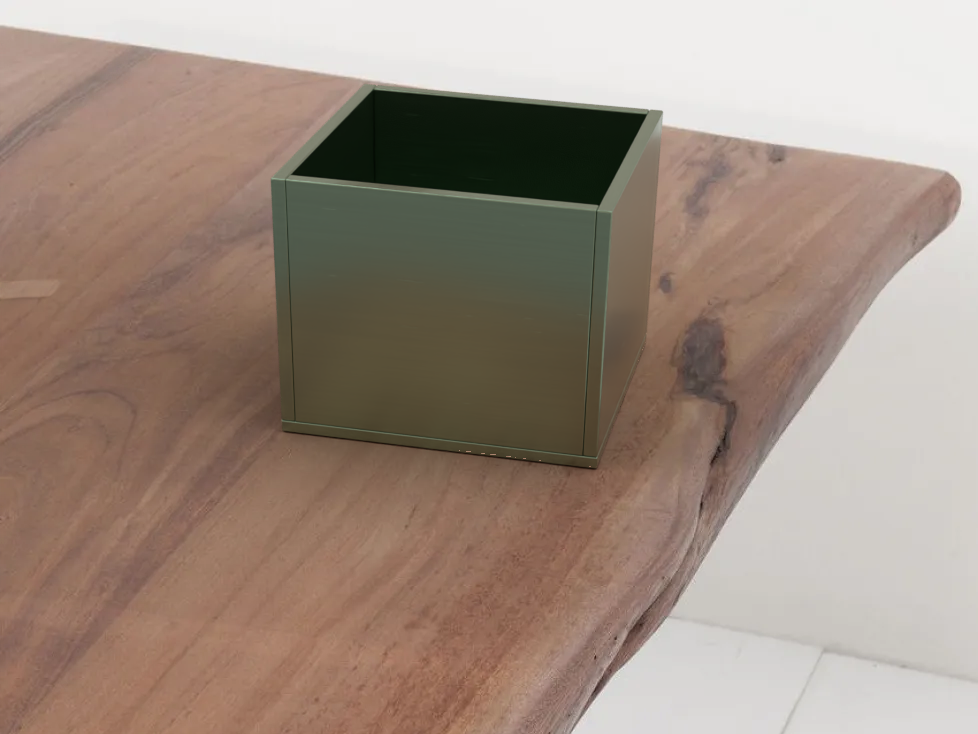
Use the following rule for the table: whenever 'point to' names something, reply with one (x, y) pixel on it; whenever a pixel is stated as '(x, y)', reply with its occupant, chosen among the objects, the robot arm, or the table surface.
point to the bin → (465, 271)
